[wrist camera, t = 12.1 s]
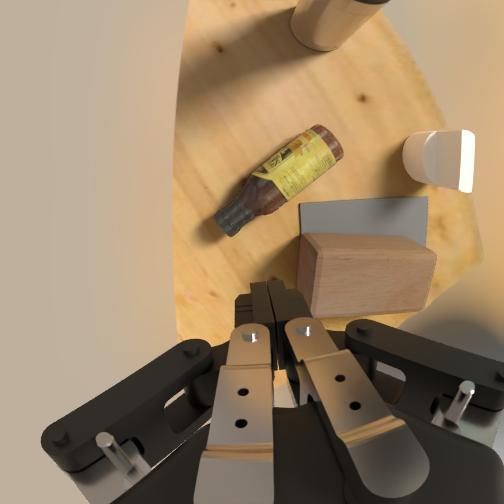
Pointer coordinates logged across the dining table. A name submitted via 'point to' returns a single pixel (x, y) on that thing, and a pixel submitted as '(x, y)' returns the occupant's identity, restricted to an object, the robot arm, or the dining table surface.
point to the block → (363, 274)
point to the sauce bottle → (281, 178)
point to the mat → (368, 217)
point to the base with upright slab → (441, 158)
